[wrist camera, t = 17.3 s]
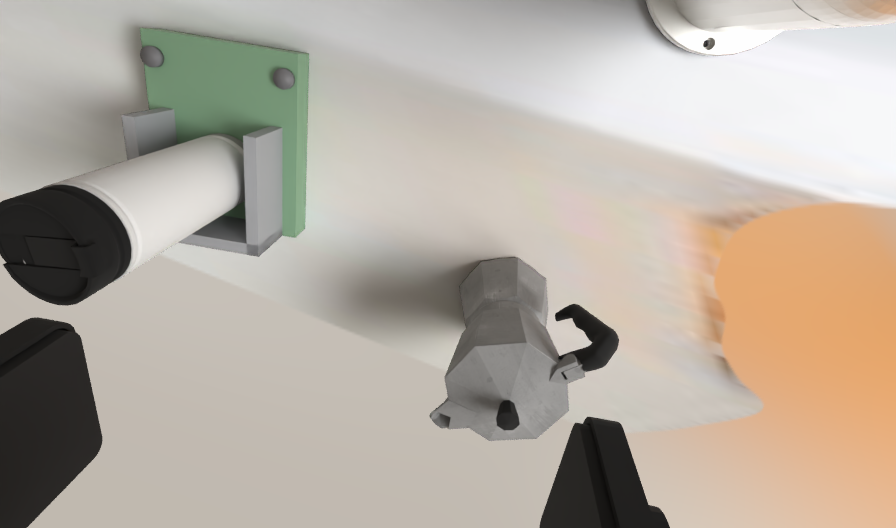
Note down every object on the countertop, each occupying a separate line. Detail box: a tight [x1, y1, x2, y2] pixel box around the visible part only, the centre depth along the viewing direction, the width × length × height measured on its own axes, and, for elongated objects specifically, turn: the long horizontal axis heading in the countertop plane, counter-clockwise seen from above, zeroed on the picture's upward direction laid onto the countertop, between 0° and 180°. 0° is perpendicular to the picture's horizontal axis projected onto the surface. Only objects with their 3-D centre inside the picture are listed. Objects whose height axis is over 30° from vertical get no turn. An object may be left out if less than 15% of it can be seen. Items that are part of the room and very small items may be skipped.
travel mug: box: [0, 133, 245, 305], centre depth 34 cm, size 6×7×20 cm
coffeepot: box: [430, 258, 619, 441], centre depth 40 cm, size 15×9×18 cm, turn 121°
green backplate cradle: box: [122, 28, 309, 257], centre depth 41 cm, size 16×13×8 cm
